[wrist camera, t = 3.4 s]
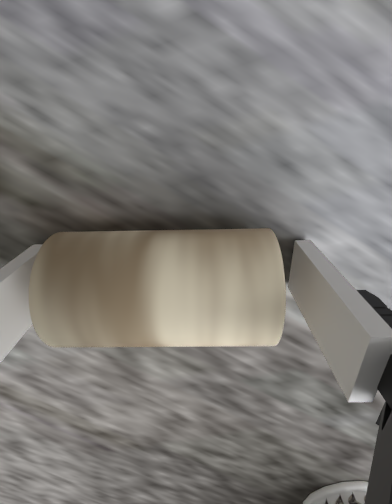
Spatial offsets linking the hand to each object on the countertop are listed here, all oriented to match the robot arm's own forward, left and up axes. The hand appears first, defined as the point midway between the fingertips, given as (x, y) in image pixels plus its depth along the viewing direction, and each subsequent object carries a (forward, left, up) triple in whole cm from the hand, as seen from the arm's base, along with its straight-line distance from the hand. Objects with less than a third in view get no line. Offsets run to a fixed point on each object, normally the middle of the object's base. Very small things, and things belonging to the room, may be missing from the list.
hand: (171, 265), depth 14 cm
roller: (0, 0, 0) cm, 0 cm away
